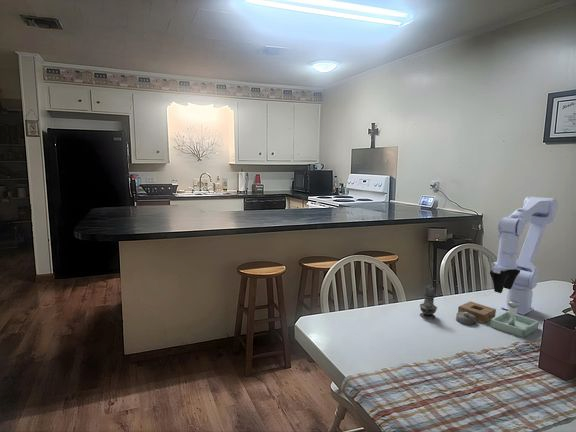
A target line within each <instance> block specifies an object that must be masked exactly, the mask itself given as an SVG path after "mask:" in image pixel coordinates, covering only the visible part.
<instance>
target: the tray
mask: <svg viewBox="0 0 576 432" xmlns="http://www.w3.org/2000/svg"><path fill="white" fill-rule="evenodd" d="M507 317H508V310H506V311H503V312H502V313H500V314H498V315H495V317H494V318H492V319H491V320H489V327H491V328H492V329H493V328H494V329H497V330H499V331H502V332H504V333H507V334H510V335H514V336H516V337H519V338H521V339H525V338H526V337H527V336H529V335H531V333H533V332H535V331H536V330H539V324H540V321H539V320H537V319H533V318H530V317H528V316H527V317H526V316H524V315H521V314H518V313H517V314H516V321H515V326H511V325H508V324H507Z"/></svg>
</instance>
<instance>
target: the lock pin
mask: <svg viewBox="0 0 576 432" xmlns="http://www.w3.org/2000/svg"><path fill="white" fill-rule="evenodd" d="M508 305H509V309H508V310H507V312H508V317H507V324H508V325H511V326H515V321H516V314H517V315H518V313H517V307H519V302H517V301H513V300H509V301H508Z"/></svg>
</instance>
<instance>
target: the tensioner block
mask: <svg viewBox="0 0 576 432" xmlns="http://www.w3.org/2000/svg"><path fill="white" fill-rule="evenodd" d="M496 313H497V308H494V307H489V306H486V305H484V304H481V303H478V302H475V301H471V300H470V301H467V302H466V303H464V304H462V305H459V306H458V308H457V313H456V316H455V321H457V322H458V323H459V324H462V325H467V326H473V325H475V324H476V322H479V323H482V324H485V323H487V322H490V320H491V319H492V318H494V317H496Z"/></svg>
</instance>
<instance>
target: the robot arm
mask: <svg viewBox="0 0 576 432" xmlns="http://www.w3.org/2000/svg"><path fill="white" fill-rule="evenodd" d="M558 202H559V201H558V200H557V199H556V197H539V196H538V197H537V196H530V195H527V196H526V197H525V198H524V200H523V204H522V207H521V208H520V207H519V208H517V209H515V211H513V212H512V213H511V214H510V215H508V216H504V217H502V218H501V219H499V220H498V221H499V222H498V225H497V231H498V239H499V244H498V250H497V257H496V258H497V259H496V261H494V262H493V263H492V265H494V266H493V269H490V271H489V274H490V276H491V280H492V284H493V291H494V292H495V293H498V294H502V293H503V291H504V289H507V292H506V300H505V301H506V302H505V304H504V305H502V306H501V307H500V308H501V309H503V310H506V311H508V309H509V305H508V301H509V300H513V301H517V302H519V307H517V314H518V315H521V316H524V315H526V314H529V313H530V312H531V311H533V310H534V309H535V308H534V307H532V303H533V293H534V292H533V289H535V288H536V287H537V284H538V281H539V276H540V272H539V269H538V267H536V265H534V261H535V259H536V256H537V252H538V250H539V247H540V244H541V241H542V238H543V236H544V232H545V230H546V228H547V225H548V224H551V223H553V222H554V220H555V217H556V214H557V211H558ZM528 223H530V225H529V228H528V231H527V234H526V237H525V240H524V242H523V245H522V247H521V250H520V253H519V252H518V251H519V243H520V237H521V236H522V235H523V234H524V230H525V229H526V225H528ZM518 253H519V256H518Z"/></svg>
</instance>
